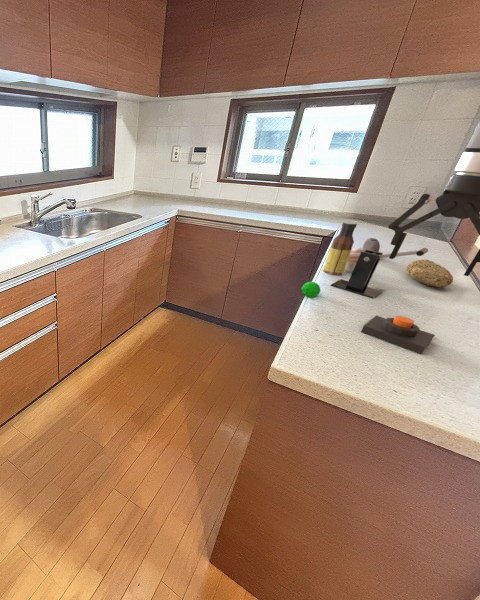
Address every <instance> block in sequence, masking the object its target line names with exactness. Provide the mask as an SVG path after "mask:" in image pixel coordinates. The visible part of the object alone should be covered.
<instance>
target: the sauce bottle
mask: <svg viewBox="0 0 480 600" xmlns="http://www.w3.org/2000/svg"><path fill="white" fill-rule="evenodd" d="M357 225H358V224H357V222H353V221H342V224H341V228H340V232H339V234H338V235H337V236H336V237H335V238H334V239H333V240H332V243H331V246H330V249H329V251H328V254H327V257H326V259H325V263H324V267H323V270H322V271H323V273H324V274H328V275H331V276H335V277H338V276H339V277H340V276H342V275H343V273H345V272H344V269H345V266H346V264H347V261H348V258H349V256H350V253H351V250H353V247H354V243H355V241H354V236H353V235H354V232H355V230H356V228H357Z"/></svg>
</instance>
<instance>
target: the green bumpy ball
mask: <svg viewBox="0 0 480 600" xmlns="http://www.w3.org/2000/svg"><path fill="white" fill-rule="evenodd" d="M320 292H321V287H320V285H319V284H318V283H317V282H315V281H307V282H305V283H304V284H303V285H302V286H301V293H302V294H303V295H304V296H305V297H307V298H315V297H317V296H318V295H320Z"/></svg>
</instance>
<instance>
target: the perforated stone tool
mask: <svg viewBox="0 0 480 600" xmlns="http://www.w3.org/2000/svg"><path fill="white" fill-rule="evenodd" d="M366 249H367V250H372V251H376V252H380V249H381V243H380V241H379V240H378V239H377V238H374V237H369V238H367V239H366V240H365V241H364V243H363V245H362V251H363V252H365V250H366Z"/></svg>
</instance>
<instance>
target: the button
mask: <svg viewBox="0 0 480 600" xmlns="http://www.w3.org/2000/svg"><path fill="white" fill-rule="evenodd" d="M393 318H394V320H393V322H392V323H393V324H395V325H397V326H400V327H403V328H411V327H412V325H413V324H415V321H414V320H413V319H412V318H409V317H406V316H402V315H396V316H395V317H393Z"/></svg>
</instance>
